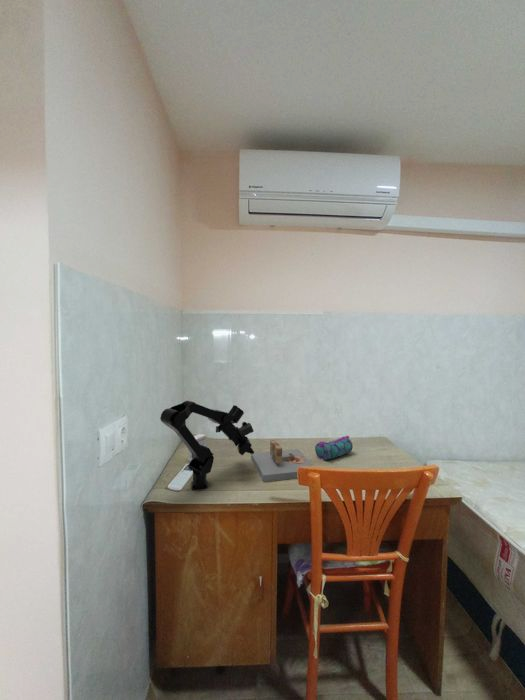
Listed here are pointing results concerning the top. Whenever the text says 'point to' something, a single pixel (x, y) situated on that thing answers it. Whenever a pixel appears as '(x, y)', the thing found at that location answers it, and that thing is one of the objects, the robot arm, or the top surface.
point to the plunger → (278, 452)
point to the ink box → (201, 440)
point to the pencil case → (333, 448)
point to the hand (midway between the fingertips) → (253, 453)
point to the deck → (278, 465)
